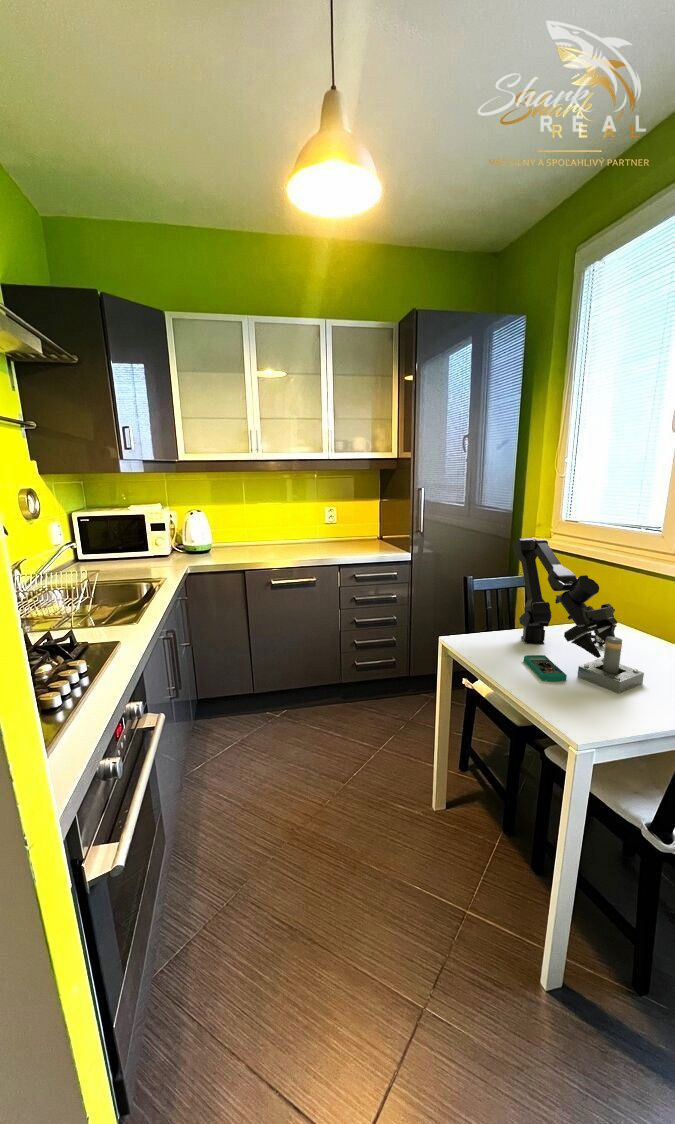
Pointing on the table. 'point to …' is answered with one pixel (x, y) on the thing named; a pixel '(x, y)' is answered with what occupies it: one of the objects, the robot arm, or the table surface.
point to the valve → (597, 640)
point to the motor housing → (610, 676)
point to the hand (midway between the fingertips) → (608, 654)
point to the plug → (612, 655)
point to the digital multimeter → (545, 668)
